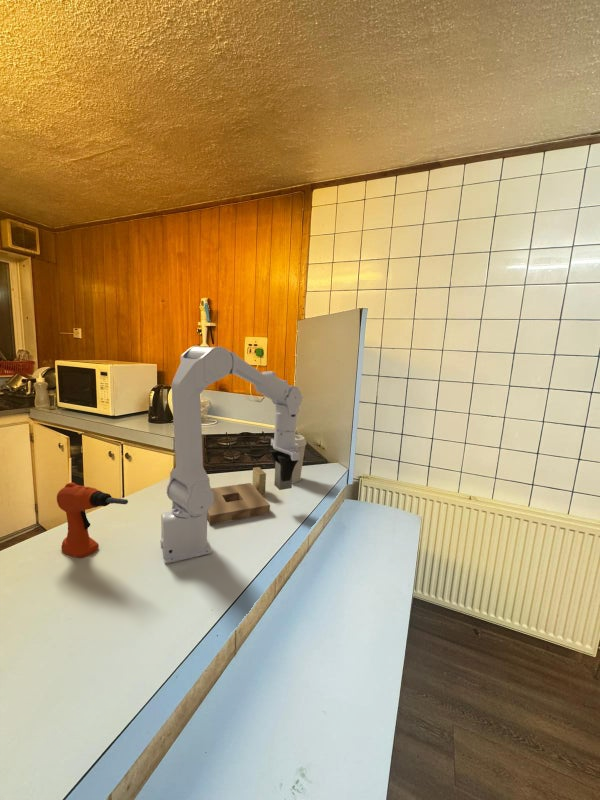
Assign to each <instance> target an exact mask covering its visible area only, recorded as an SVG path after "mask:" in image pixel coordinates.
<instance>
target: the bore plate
mask: <svg viewBox="0 0 600 800" xmlns="http://www.w3.org/2000/svg"><path fill="white" fill-rule="evenodd" d="M252 484H253V483H252V482H246V483H239V484H233V485H226V486H218V487H213V488H212V487H211V489H212V490H213V493H214V501H213V504H212V506H211V507H210V509H209V510H208V513H207V523H208V524H209V526H212V525H218V524H222V523H227V522H233V521H237V520H238V521H239V520H244V519H247V518H253V517H259V516H264V515H269V514H270V513H271V512H270V511H271V504H270V503H269V501H267V500H266V499H265V497H264V496H262V495H261V494H260V493H259V492H258V491H257V490H256V488H255V487H254V486H253V485H252Z"/></svg>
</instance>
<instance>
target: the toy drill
mask: <svg viewBox="0 0 600 800" xmlns="http://www.w3.org/2000/svg"><path fill="white" fill-rule="evenodd" d="M56 503H57V505H58V507H59V508H60V510H62V511H63V512H65V515H66V520H67V534H66V537H65V538H64V539H63V540H62V543H61V548H60V549H61V552H63V554H65V555H67V556H69V555H70V556H69V557H72V558H77V557H78V558H77V559H79V558H85V557H86V558H87V557H89V556H91V555H93V554H94V553H96V552H97V551H98V549H99V547H100V545H99V543H98V542H97V541H96V540H95V539H93V538H92V537H90V534H89V531H88V529H89V528H90V527H91V523H90V522H89V519H88V518H87V514H86V513H85V511H87V510H91V509H96V508H98V507H107V506H109V505H110V504H115V505H116V504H119V505H127V504H128V503H129V500H128V499H124V498H116V497H112V495H111V494H110V493H105V492H102V491H101V490H98V489H97V488H95V487H91V486H85V485H79V484H77V483H75V482H72V481H71V482H68V483H66V484H65V485H64V487H62V488H61V489H60V490H59V491H58V492H57V494H56Z"/></svg>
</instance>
